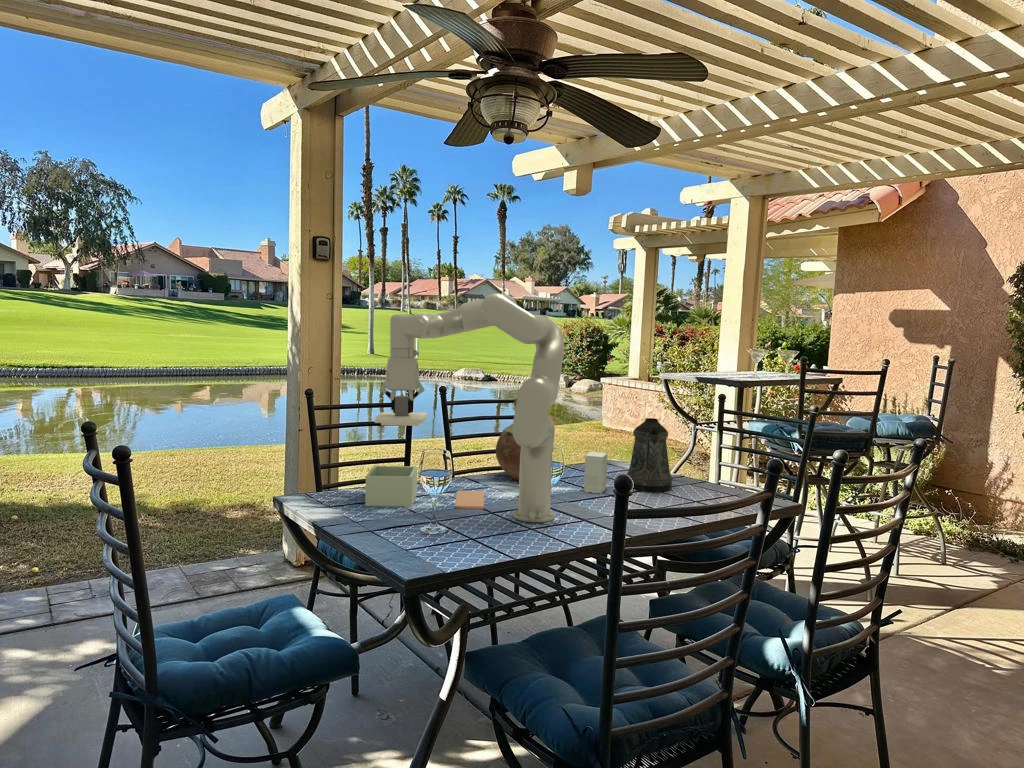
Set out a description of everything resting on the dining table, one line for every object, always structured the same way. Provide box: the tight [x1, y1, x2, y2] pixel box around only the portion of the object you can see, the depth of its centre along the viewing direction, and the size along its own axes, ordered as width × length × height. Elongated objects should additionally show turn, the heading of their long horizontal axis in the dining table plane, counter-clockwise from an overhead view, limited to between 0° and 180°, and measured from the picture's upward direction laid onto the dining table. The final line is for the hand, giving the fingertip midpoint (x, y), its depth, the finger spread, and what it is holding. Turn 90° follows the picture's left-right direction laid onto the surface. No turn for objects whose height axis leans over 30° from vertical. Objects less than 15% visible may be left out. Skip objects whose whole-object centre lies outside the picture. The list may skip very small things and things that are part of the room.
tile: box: [453, 490, 485, 510], centre depth 220 cm, size 20×18×1 cm
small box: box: [583, 451, 608, 494], centre depth 238 cm, size 8×6×13 cm
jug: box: [495, 398, 521, 482], centre depth 253 cm, size 22×22×30 cm
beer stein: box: [626, 417, 673, 494], centre depth 243 cm, size 16×19×25 cm
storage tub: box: [364, 465, 418, 507], centre depth 214 cm, size 16×14×10 cm
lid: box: [374, 395, 428, 427], centre depth 213 cm, size 17×15×8 cm
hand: (402, 412), depth 213 cm, fingers closed on lid, 4 cm apart
